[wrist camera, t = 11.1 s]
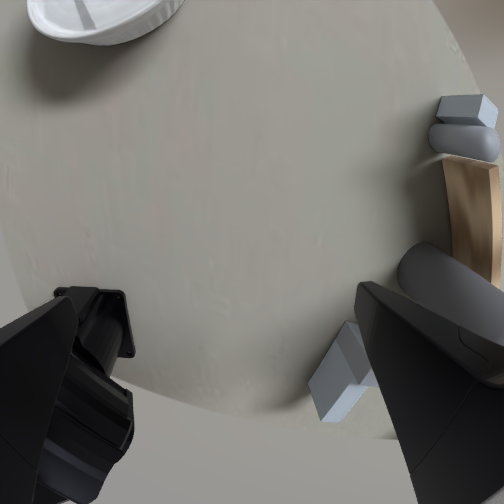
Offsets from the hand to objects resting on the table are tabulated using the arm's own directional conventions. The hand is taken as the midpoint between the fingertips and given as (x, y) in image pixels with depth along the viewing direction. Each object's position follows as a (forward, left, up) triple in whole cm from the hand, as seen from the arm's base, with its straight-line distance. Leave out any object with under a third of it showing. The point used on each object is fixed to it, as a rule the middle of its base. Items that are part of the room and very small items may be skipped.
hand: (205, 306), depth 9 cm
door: (-1, -21, -12) cm, 25 cm away
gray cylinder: (-5, -18, -13) cm, 22 cm away
